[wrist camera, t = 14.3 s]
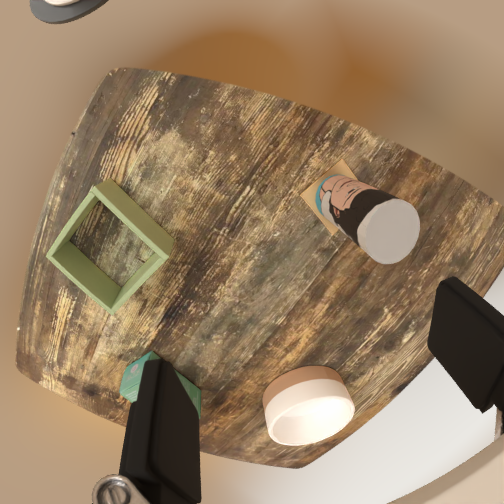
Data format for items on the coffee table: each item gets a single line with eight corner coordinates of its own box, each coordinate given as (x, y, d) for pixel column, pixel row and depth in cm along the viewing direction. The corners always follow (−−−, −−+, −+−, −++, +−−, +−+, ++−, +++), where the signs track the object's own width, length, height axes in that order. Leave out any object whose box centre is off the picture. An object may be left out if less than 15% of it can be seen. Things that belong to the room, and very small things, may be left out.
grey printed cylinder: (366, 189, 41) (429, 220, 27) (343, 228, 43) (396, 273, 29) (330, 165, 39) (389, 186, 25) (306, 206, 41) (352, 247, 27)
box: (150, 348, 47) (144, 379, 40) (202, 388, 52) (202, 419, 46) (124, 364, 48) (116, 394, 42) (175, 402, 54) (173, 431, 47)
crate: (110, 177, 36) (94, 186, 30) (175, 239, 41) (169, 257, 35) (63, 240, 38) (45, 256, 33) (122, 294, 43) (112, 316, 37)
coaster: (341, 158, 39) (342, 158, 38) (370, 199, 42) (371, 200, 41) (299, 194, 40) (300, 195, 40) (331, 234, 43) (332, 235, 43)
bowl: (245, 393, 54) (250, 426, 47) (320, 351, 52) (335, 382, 44) (287, 425, 61) (295, 453, 53) (352, 390, 59) (365, 417, 51)
